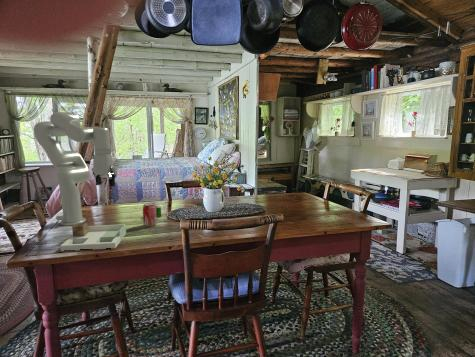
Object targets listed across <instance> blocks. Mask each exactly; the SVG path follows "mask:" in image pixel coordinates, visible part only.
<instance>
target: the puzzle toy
mask: <svg viewBox="0 0 475 357" xmlns="http://www.w3.org/2000/svg"><path fill="white" fill-rule="evenodd" d="M155 206H156V214H157V218H161V217H162V208H161V206H160V205H159V204H158V205H155Z"/></svg>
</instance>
